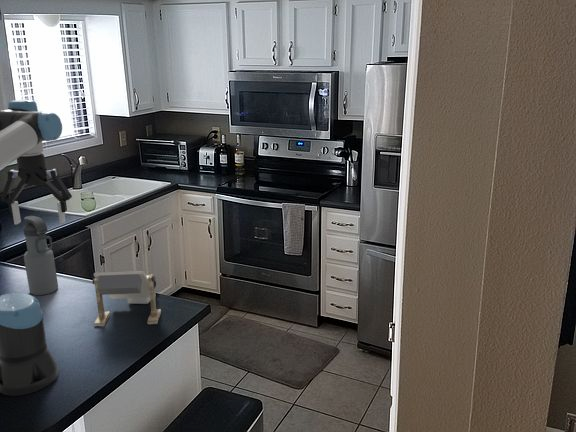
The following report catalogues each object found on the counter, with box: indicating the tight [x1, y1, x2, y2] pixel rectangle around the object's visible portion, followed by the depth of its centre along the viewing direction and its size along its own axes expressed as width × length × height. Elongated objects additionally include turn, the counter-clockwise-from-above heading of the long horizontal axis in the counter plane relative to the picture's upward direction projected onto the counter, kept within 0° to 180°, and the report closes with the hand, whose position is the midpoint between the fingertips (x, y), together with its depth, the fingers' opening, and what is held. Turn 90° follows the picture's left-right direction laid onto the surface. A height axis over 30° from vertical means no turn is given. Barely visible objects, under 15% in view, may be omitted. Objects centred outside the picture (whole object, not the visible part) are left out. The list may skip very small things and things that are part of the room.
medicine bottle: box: [127, 274, 157, 305], centre depth 194 cm, size 7×7×12 cm
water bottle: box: [22, 215, 59, 296], centre depth 198 cm, size 10×10×28 cm
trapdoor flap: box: [93, 270, 156, 300], centre depth 177 cm, size 21×15×5 cm
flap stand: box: [91, 273, 162, 327], centre depth 177 cm, size 8×20×15 cm, turn 94°
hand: (40, 222), depth 167 cm, fingers open, 13 cm apart
